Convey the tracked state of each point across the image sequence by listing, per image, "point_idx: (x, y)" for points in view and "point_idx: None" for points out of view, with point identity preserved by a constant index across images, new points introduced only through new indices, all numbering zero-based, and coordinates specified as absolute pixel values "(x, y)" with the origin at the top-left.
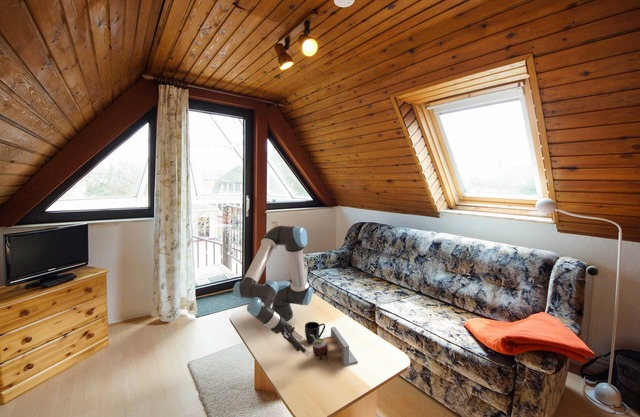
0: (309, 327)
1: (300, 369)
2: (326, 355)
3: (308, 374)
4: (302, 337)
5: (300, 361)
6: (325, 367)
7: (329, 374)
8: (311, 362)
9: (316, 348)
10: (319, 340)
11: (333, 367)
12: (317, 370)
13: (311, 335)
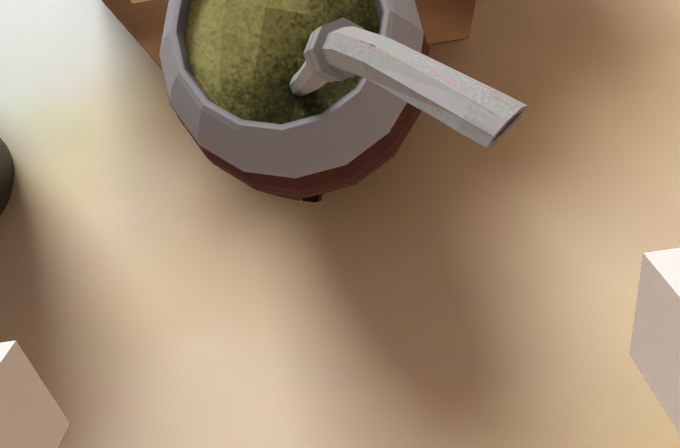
0: None
1: (520, 442)
2: None
3: None
4: (15, 365)
5: (342, 413)
6: None
7: (667, 78)
8: (393, 263)
9: (397, 121)
10: (237, 6)
11: (537, 12)
12: (571, 211)
13: (437, 74)
